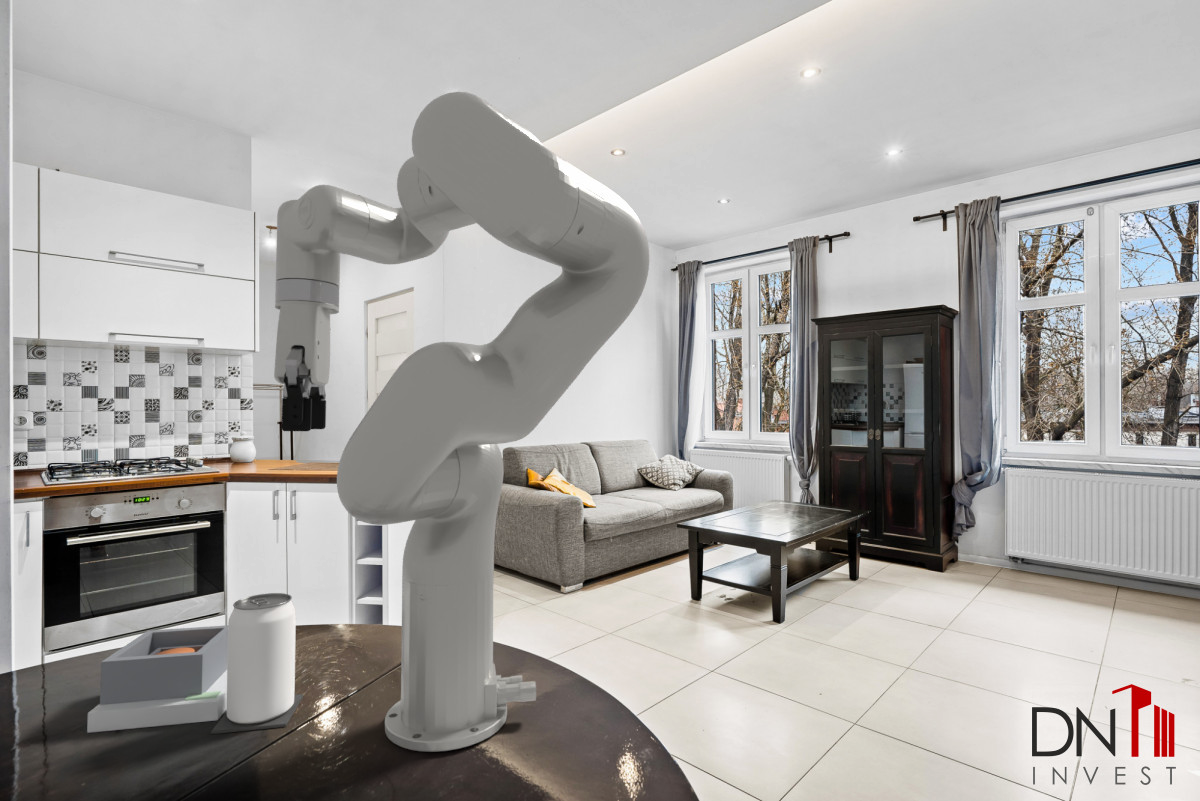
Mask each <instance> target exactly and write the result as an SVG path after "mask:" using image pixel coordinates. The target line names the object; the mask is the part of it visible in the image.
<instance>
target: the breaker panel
mask: <svg viewBox="0 0 1200 801" xmlns="http://www.w3.org/2000/svg"><path fill="white" fill-rule="evenodd" d="M175 648H193V649H194V650H195V652H189V653H175V654H161V655H156V654H158V653H160V652H163V651H166V650H170V649H175ZM227 655H228V624H226V625H225V624H224V625H213V626H199V627H198V626H197V627H180V628H168V629H167V628H166V629H164V628H163V629H149V630H147V631H145V632H144V633H142V634H141V635H138V637H136V638H135V639H133V640H131V641H130V642H129V643H127V644H126V645H124V646H123V647H121V648H119V649H118V650H117V651H115V652H114V653H112V654H111V655H109V656H108V657H107V658H105V659H104V660H102V661H101V662H100V689H99V690H100V692H99V703H98V704H97V705H96V706H95V707H93V709H90V711H88V712H87V730H86V732H87V734H88V733H98V732H109V731H117V730H118V731H119V730H130V729H141V728H149V727H161V726H171V725H172V726H173V725H182V724H191V723H192V724H193V723H201V722H211V721H219V719H221V718H222V716H223V714H225V713H226V712H227Z"/></svg>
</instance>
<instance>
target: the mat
mask: <svg viewBox="0 0 1200 801" xmlns="http://www.w3.org/2000/svg"><path fill="white" fill-rule="evenodd" d="M303 698H304V693H296V694H294V704H293V705H292V707H291V708H290V709H289V710H288V711H287V712H286V713H285V714H283V715H282V716H280V717H278V718H275V719H273V720H270V721H267V722H264V723H259V724H251V725H241V724H236V723H233V722H232V721H231V720H230V719H228V717H227V711H225V713H224V715H222V716H221V717H220V720H218V722H217V724H215V726H214V727H213V729H211V730H210V734H211V735H218V734H225V733H226V734H227V733H235V732H245V731H247V732H248V731H257V730H264V729H265V730H266V729H276V728H284V727H285V728H286V727H287V725H288V723H289V721H290V720H291V718H292V717H293V715H294V713H295V712H296V710H297V708H298V706H299V705H300V703H301V701H302V699H303Z"/></svg>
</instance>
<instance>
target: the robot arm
mask: <svg viewBox="0 0 1200 801" xmlns="http://www.w3.org/2000/svg"><path fill="white" fill-rule="evenodd" d="M411 135H412V136H411V150H412V154H413V156H410V158H408V159H407V160H405V162H404V163H403V164H402V165H401V166H400V169H399V171H398V175H397V177H396V178H397V180H396V190H397V191H396V192H397V195H398V200H399V203H400V206H401V207H392V206H388V205H386V204H385V203H381V202H378V201H376V200H373V199H370V198H368V197H365V196H362V195H359V194H356V193H353V192H351V191H348V190H345V189H342V188H340V187H337V186H335V185H330V184H318V185H315V186H313V187H311V188H310V189H308V190H307V191H305V192H304V193H303V194H302V195H301V196H300V197H299V198H297V199H291V200H286V201H284V202H282V203H281V204H280V205H279V208H278V210H277V216H276V255H275V256H276V257H275V258H276V260H275V296H274V297H275V298H274V299H275V300H274V303H275V304H274V308H276V310H279V314H278V322H277V330H276V331H277V332H276V342H275V343H276V344H275V355H274V356H275V358H274V371H273V372H274V373H273V375H274V380H275V381H276V382H277V383H279V384H283V389H282V400H281V430H282V431H283V432H310V431H311V430H324V429H325V428H326V423H327V421H326V420H327V400H326V388H325V387H326V385H328V383H329V380H330V371H331V370H330V366H331V364H330V363H331V315H336V314H339V313H340V287H341V286H340V280H341V278H340V277H341V275H340V274H341V255H342V254H343V255H347V256H351V257H356V258H360V259H363V260H367V261H369V262H373V263H376V264H383V265H399V264H405V263H409V262H413V261H417V260H421V259H424V258H427V257H429V256H432V255H433V254H434V253H435V252H436V251H438V250H439V249H440V248H441V246H443V244H444V242H445V241H446V240H447V238H448V235H449V232H451V231H454V230H457V229H461V228H464V227H467V226H471V225H474V224H477V225H479V227H480V228H482V229H483V230H484V231H485V232H487V234H488V235H491V236H492V237H493V238H494V239H496V240H497V241H498V242H501V243H502V244H504V245H505V246H507V247H509V248H511V249H513V250H515V251H518V252H521V253H523V254H526V255H529V256H531V257H534V258H537V259H539V260H541V261H544V262H546V263H550V264H553V265H556V266H558V267H561V273H560V275H559V276H558V277H557V278H555V279H554V280H553V281H551V282H549V283H548V284H546V285H545V286H542V288H540V289H539V290H537V291H536V292H534V293H533V294H532V295H531V296H530V297H528V298H527V299H525V301H524V302H523V303H522V305H520V306H519V307H518V308H517V310H516V311H515V313H514V315H513V316H512V318H511V319H510V321H509V322H507V324H506V325H505V327H504V328H503V329H502V330H501V331H500V332H499V334H498V335H497V336H496V337H495V338H494V339H492V340H491V341H489V342H488V343H485V344H481V345H480V344H472V343H467V342H466V343H465V342H457V341H439V342H434V343H431V344H428V345H426V346H423V347H421V348H419V349H418V350H415V351H414V352H413V353H412V354H410V355H409V356H408V357H407V358H405V359H404V360H403V361H402V363H401V364H400V365H399V366H398V367H397V369H396V370H395V371H394V373H392V375H391V377H390V378H389V380H388V382H387V383H386V384H385V386H384V387H383V389H382V390H381V391H380V392H379V395H378V396H377V397H376V399H375V400H374V402H373V404H372V405H371V406H370V407H369V409H368V411H367V412H366V414H365V415H364V417H363V418H362V419H361V421H360V422H359V424H358V426H356V429H355V430H354V431H353V432H352V434H351V436H350V437H349V439H348V441H347V443H346V445H345V447H344V449H343V451H342V454H341V456H340V460H339V462H338V465H337V466H338V467H337V472H336V489H337V494H338V498H339V500H340V502H341V504H342V506H343V508H344V509H345V511H346V512H347V513H348V514H349V515H350V516H352V517H354V518H355V519H356V520H358V521H360V522H363V523H364V524H365V523H366V524H370V525H376V526H385V525H393V524H400V523H405V522H411V521H414V522H413V524H412V526H411V529H410V531H409V534H408V536H407V539H406V543H405V547H404V549H403V556H402V573H401V574H402V576H401V577H402V579H401V580H402V581H401V582H402V584H401V650H400V651H401V657H400V658H401V659H400V661H401V662H400V664H401V665H400V666H401V667H400V668H401V669H400V670H401V671H400V672H401V674H400V675H401V677H400V686H401V687H400V700H399V701H397V702H396V703H394V704H393V705H392V707H391V708H389V709H388V711H387V713H386V715H385V717H384V732H385V735H386V737H387V738H388V740H390V742H392V743H393V744H395V745H397V746H398V747H401V748H404V749H406V750H407V749H408V750H410V751H415V752H416V751H417V752H426V753H427V752H428V753H433V752H434V753H435V752H438V753H439V752H448V751H453V750H459V749H463V748H467V747H470V746H473V745H475V744H479V743H480V742H483V741H484V740H487V739H488V738H490V737H492V736H493V735H495V733H497V732H498V731H500V729H501V728H502V727H503V726H504V724H505V722H506V720H507V716H508V703H514V702H519V703H522V702H523V703H524V702H534V701H536V700H537V685H536V684H537V682H536V680H533V681H523V680H524V679H523V675H521V674H519V675H511V676H505V677H502V674H497V670H496V664H495V663H494V571H495V538H496V537H495V536H496V525H497V515H498V508H499V504H500V500H501V499H500V498H501V495H502V488H503V485H504V484H503V482H504V473H505V472H504V460H503V455H502V452H501V450H500V449H501V448H500V447H499V444H500V445H501V444H508V443H513V442H517V441H520V440H522V439H524V438H526V437H527V436H529V435H530V434H531V433H532V432H533V431H534V429H536V428H537V426H539V424H540V422H542V420H543V419H544V418H545V416H547V414H548V413H549V411H551V410H552V408H553V407H554V406H555V405H556V404H557V402H558V401H559V400H560V399H561V397H562V396H563V395H564V393H565V392H566V391H567V390H569V388H570V386H571V385H572V384H573V383H574V382H575V380H577V378H578V377H579V375H581V373H582V372H583V370H584V369H585V367H586V366H587V364H588V363H589V362H590V361H591V360H592V359H593V357H594V356H595V355H596V354H597V353H598V352H599V350H601V348H602V347H604V345H605V344H606V342H608V340H609V339H610V338H611V337H612V336H613V335H614V334H615V333H616V332H617V331H618V329H619V328H620V327H621V326H622V325H623V324H624V322H625V321H626V320H627V319H628V318H629V316H630V315H631V313H632V312H633V310H634V308H636V305H637V304H638V302H639V300H640V298H641V297H642V295H643V292H644V289H645V286H646V283H647V279H648V275H649V270H650V268H649V267H650V249H649V247H650V246H649V242H648V238H647V234H646V230H645V229H644V226H643V224H642V222H641V220H640V218H639V217H638V215H637V213H635V211H634V210H633V208H632V207H631V206H630V205H629V204H628V203H627V202H626V201H625V200H624V199H623V198H622V197H621V196H620V195H618V194H617V193H616V192H615V191H613V190H611V189H610V188H609V187H608V186H606V185H605V184H604V183H601V182H600V181H598V180H596V179H595V178H594V177H591V176H590V175H588V174H586V173H585V172H584V171H581V169H579V168H578V167H576V166H575V165H573V164H571V163H570V162H568V161H567V160H566V159H564V158H562V157H561V156H558V155H557V154H556V153H554V152H552V150H550V149H549V148H547V147H546V146H544V144H542V142H541V141H540V140H539V138H538V137H537V136H536V135H535V134H533V133H532V131H530V130H529V129H528V128H527V127H525V126H523V125H522V124H521V123H519V122H518V121H516V120H515V119H513V118H512V117H511V116H509V115H507V114H506V113H504V112H502V111H501V110H500V109H498V108H496V107H495V106H493V105H492V104H490V103H489V102H488V101H486V100H485V99H482V98H481V97H480V96H477V95H476V94H473V93H469V92H466V91H453V92H448V93H445V94H442V95H440V96H438V97H436V98H434V99H433V100H432V101H430V102H429V103H428V104H426V105H425V107H424V108H423V109H422V111H421V112H420V113H419V115H418V117H417V119H416V120H415V123H414V125H413V129H412V134H411Z"/></svg>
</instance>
